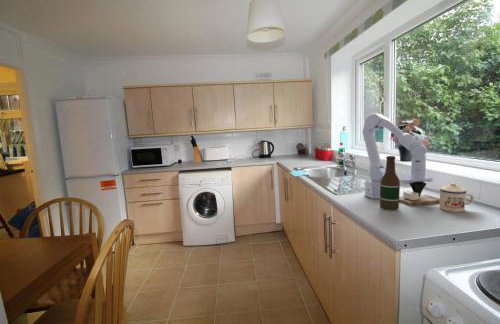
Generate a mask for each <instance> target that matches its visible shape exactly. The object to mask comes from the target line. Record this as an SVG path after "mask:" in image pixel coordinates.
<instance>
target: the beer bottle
mask: <svg viewBox="0 0 500 324" xmlns="http://www.w3.org/2000/svg"><path fill="white" fill-rule="evenodd" d="M385 159H386V164H385V169H386V172H385V175H384V176H383V177H382V179H381V184H380V198H379V208H380V209H383V210H384V211H398V210H399V208H400V202H399V197H400V192H401V191H400V186H401V182H400V179H399V177H398V175H397V172H396V156H394V155H387V156H386V157H385Z"/></svg>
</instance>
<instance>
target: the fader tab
mask: <svg viewBox="0 0 500 324" xmlns="http://www.w3.org/2000/svg"><path fill="white" fill-rule="evenodd" d="M402 192H403V193H402V194H403V195H402V197H403V198H406V199H409V200H419V193H416V192H413V190H407V191H402Z"/></svg>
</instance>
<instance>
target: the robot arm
mask: <svg viewBox="0 0 500 324" xmlns="http://www.w3.org/2000/svg"><path fill="white" fill-rule="evenodd" d="M363 125H364V126H363V129H362V135H363V139H364V145H365V147H366V152H367V157H368V160H369V174H368V176H369V178H370V180H367V181H366V182H364V194H363V195H364V196H365V195H366V196H365V197H368V198H371V199H374V200H375V199H380V184H381V179H382V177H383V176H384V175H385V172H386V167H385V166H384V164H383V162H382V161H381V158H380V153H379V150H378V145H377V142H376V137H375V134H374V133H375V132H376V131H377V129H378V128H379V127H381V128H386V129H387V130H388V131H389V132H391V133H392V134H393V135H394V136H396V138H398V142H399V144H401V145H402V146H403V147H404V148H405V149H406V150H407V151H410V155H411V165H410V167H411V168H410V177H407V178H403V179H402V184H405V185H407V184H409V186H410V188H411V191H412V192H416V193H419V197H420V195H422V193H423V190H424V189H425V187H426V186H427V183H426V182H430V183H432V182H433V179H434V178H433V177H431V176H430V177H429V176H427V177H426V164H427V160H426V158H427V155H426V154H427V152H428V148H427V147H426V144H424V143H422V142H421V141H419V140H417V138H415V137H414V134H412V133H409V132H404V131H402V130H401V128H399V127H398V126H397V125H396V124H395V123H394V122H393V121H391V120H390V119H389V118H388V117H386V116H384V115H383V114H382V113H374V112H373V113H370V114H369V115H368V116H367V117H365V120H364V124H363Z"/></svg>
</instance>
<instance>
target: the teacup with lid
mask: <svg viewBox="0 0 500 324" xmlns="http://www.w3.org/2000/svg"><path fill="white" fill-rule="evenodd" d="M466 196H469V197H470V200H469V201H468V202H466ZM439 198H440V202H439V203H438V205H439V206H438V207H439V209H441V210H443V211H446V212H453V213H462V212H464V211H465V209H466V207H465V206H468V205H471V204H472V203H473V202H474V200H475V199H474V195H473V194H471V193H468V192H467V190H466V189H465V188H463V187H460V186H458V185H457V184H456V183H455V182H450V184H448V185H444V186H441V187H440V188H439Z"/></svg>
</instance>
